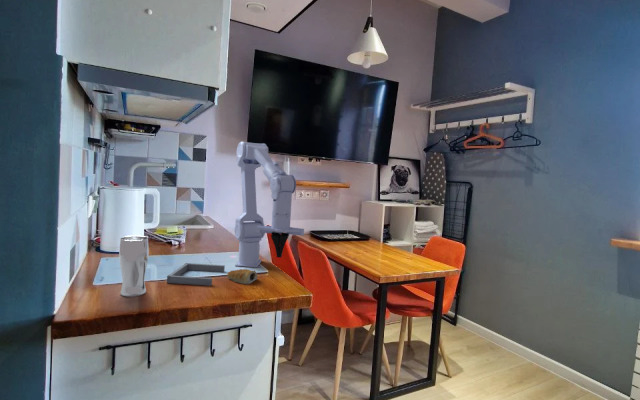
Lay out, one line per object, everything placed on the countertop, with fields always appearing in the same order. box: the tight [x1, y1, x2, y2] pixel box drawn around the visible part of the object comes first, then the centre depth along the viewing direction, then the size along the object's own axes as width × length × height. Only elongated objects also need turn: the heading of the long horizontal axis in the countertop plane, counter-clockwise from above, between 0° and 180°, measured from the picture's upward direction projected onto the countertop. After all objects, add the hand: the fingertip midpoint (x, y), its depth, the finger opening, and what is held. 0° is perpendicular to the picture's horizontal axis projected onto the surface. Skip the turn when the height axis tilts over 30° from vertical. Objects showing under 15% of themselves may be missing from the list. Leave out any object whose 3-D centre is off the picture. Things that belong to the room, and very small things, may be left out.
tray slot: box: [166, 262, 225, 287], centre depth 115 cm, size 15×13×2 cm
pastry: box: [226, 268, 258, 285], centre depth 114 cm, size 9×7×4 cm
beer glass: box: [118, 235, 150, 298], centre depth 97 cm, size 7×7×15 cm
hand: (279, 256), depth 114 cm, fingers closed
